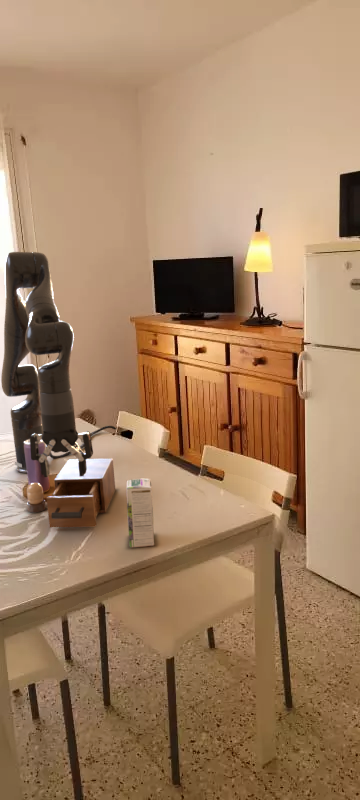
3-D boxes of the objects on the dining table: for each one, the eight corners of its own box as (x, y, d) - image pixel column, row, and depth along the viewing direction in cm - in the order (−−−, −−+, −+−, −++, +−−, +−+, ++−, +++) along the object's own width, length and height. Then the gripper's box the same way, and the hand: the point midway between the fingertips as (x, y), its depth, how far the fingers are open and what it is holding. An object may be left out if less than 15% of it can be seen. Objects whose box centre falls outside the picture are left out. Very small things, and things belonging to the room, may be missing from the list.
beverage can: (45, 494, 174) (39, 444, 170) (25, 494, 175) (19, 444, 171) (53, 486, 179) (48, 437, 176) (34, 486, 181) (28, 437, 177)
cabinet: (105, 513, 159) (102, 478, 157) (57, 514, 160) (54, 479, 158) (115, 490, 174) (112, 458, 172) (71, 491, 175) (68, 459, 173)
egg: (30, 505, 167) (27, 479, 165) (48, 505, 167) (45, 479, 165) (25, 512, 162) (22, 486, 160) (43, 512, 162) (40, 486, 160)
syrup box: (129, 537, 145) (125, 479, 142) (154, 534, 146) (150, 477, 142) (129, 548, 140) (125, 488, 136) (155, 546, 140) (151, 486, 137)
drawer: (91, 535, 145) (88, 504, 143) (44, 536, 146) (40, 505, 144) (106, 502, 164) (103, 475, 162) (64, 503, 165) (61, 476, 163)
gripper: (91, 404, 144) (97, 469, 148) (31, 406, 145) (39, 470, 149) (84, 412, 137) (90, 480, 141) (21, 414, 138) (30, 482, 142)
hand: (64, 475), depth 145 cm, fingers open, 8 cm apart
